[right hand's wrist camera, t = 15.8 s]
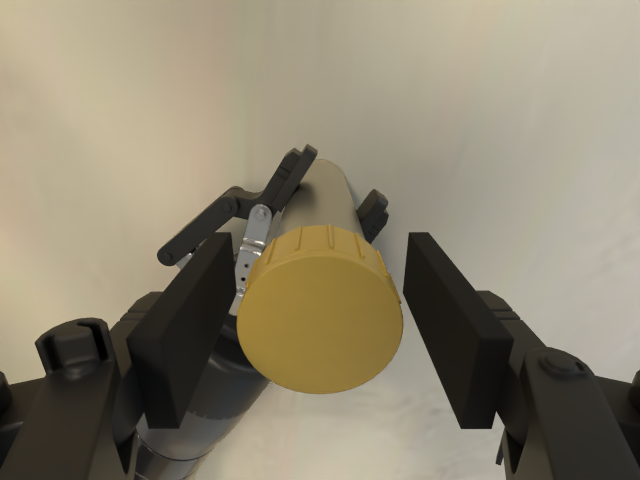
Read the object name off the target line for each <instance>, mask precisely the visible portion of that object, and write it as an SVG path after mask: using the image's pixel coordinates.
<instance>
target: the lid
mask: <svg viewBox="0 0 640 480" xmlns="http://www.w3.org/2000/svg"><path fill="white" fill-rule="evenodd" d="M245 287H246V290H245V293H244V295H243V298H242V300H241V303H240V305H239V308H238V311H237V313H238V315H237V334H238V338H239V342H240V345H241V347H242V350H243V352H244V354H245V355H246V357H247V359H248V360H249V362H250V363H251V364H252V365H253V366H254V368H255V369H257V370H258V371H259V372H260V373H261V374H262V375H263V376H265V377H266V378H268V379H269V380H271V381H272V382H274V383H276V384H278V385H280V386H282V387H285V388H287V389H291V390H294V391H298V392H303V393H311V394H329V393H337V392H342V391H346V390H349V389H352V388H355V387H357V386H360V385H362V384H364V383H366V382H367V381H369V380H371V379H372V378H374V377H375V376H376V375H378V374H379V373H380V372H381V371H382V370H383V369H384V368H385V367H386V366H387V365H388V364H389V362H390V361H391V360H392V358H393V357H394V355H395V353H396V352H397V349H398V347H399V345H400V341H401V338H402V333H403V315H402V311H401V307H400V304H401V300H400V297H399V295H398V292H397V290H396V287H395V285H394V282H393V280H392V277H391V275H390V273H388V272H387V269H386V267H385V264H384V262H383V259H382V257H381V254H380V252H379V250H377V251H376V250H375V249H374V248H373V247H372V246H371V245H370V244H369V243H368V242H367V241H365V240H364V239H363V238H361V237H360V236H359V234H358V233H356V234H354V233H353V232H350V231H348V230H345V229H342V228H338V227H334V226H331V224H328V226H326V225H314V226H306V227H302V226H299V227H298V229H295V230H292V231H290V232H287V233H285V234H284V235H282V236H280V237H278V238H277V239H275V238H274V239H272V242H271V244H270V245H269V246H268V247H267V248H266V249H265V250H264V251H263V253H262V254H261V255H260V257H259V259H258V258H256V259H255V261H254V264H253V266H252V269H251V271H250V274H249V276H248V279H247V281H246V284H245Z"/></svg>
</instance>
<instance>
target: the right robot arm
mask: <svg viewBox="0 0 640 480" xmlns="http://www.w3.org/2000/svg"><path fill="white" fill-rule="evenodd" d="M236 294H237V286H236V277H235V267H234V257H233V247H232V238H231V232H212V233H211V234H210V235H209V236H208V238H207V239H206V240H205V241H204V243H203V244H202V245H201V246H200V247H199V249H198V250H197V251H196V252H195V254H194V255H193V256H192V257H191V259H190V260H189V261H188V262H187V263H186V265H185V266H184V267H183V268H182V270H181V271H180V272H179V273H178V275H177V276H176V277H175V278H174V280H173V281H172V282H171V283H170V284H169V286H168V287H167V288H166V289H165V291H164V292H150V293H149V294H147V295H145V296H144V297H142V298H140V299H139V300H137V301H136V302H135V303H134V304H133V306H132V307H131V308H130V309H129V310H128V313H125V314H124V315H123V317H122V318H121V319H120V321H118V322H117V323H116V324H115V325H114V326H113V328H112V329H111V330H110V331H109V329H108V325H107V323H106V322H105V321H103V320H102V319H98V318H81V319H76V320H72V321H69V322H65V323H63V324H61V325H58V326H56V327H53V328H52V329H50V330H49V331H47V332H45V333H44V334H42V335H41V336H40V337H39V338H38V339H37V341H36V342H35V345H36V348H37V351H38V353H39V356H40V359H41V361H42V364H43V367H44V369H45V372H46V376H45V377H44V378H40V379H35V380H30V381H26V382H21V383H16V384H11V385H9V384H8V382H7V380H6V377H5V375H4V373H2V372H1V371H0V480H134V475H135V466H136V458H137V449H138V436H137V432H136V428H135V427H136V426H137V424H138V422H139V420H140V418H141V417H142V415H143V413H145V417H146V421H147V425H148V429H179V428H180V425H181V423H182V421H183V418H184V416H185V414H186V411H187V409H188V407H189V404H190V402H191V400H192V397H193V395H194V392H195V390H196V388H197V385H198V383H199V381H200V378H201V376H202V374H203V371H204V369H205V367H206V364H207V362H208V360H209V357H210V355H211V353H212V350H213V348H214V346H215V343H216V341H217V339H218V336H219V334H220V332H221V329H222V327H223V325H224V322H225V320H226V318H227V315H228V313H229V311H230V308H231V306H232V304H233V301H234V299H235V297H236ZM403 294H404V297H405V299H406V301H407V304H408V306H409V308H410V311H411V313H412V315H413V318H414V320H415V322H416V325H417V327H418V329H419V332H420V334H421V336H422V339H423V341H424V343H425V346H426V348H427V350H428V353H429V355H430V357H431V360H432V362H433V364H434V367H435V369H436V371H437V374H438V376H439V378H440V381H441V383H442V385H443V388H444V390H445V393H446V395H447V397H448V400H449V402H450V404H451V407H452V409H453V411H454V414H455V416H456V418H457V421H458V423H459V425H460V428H461V429H492V425H493V421H494V417H495V413H496V411H497V413H498V415H499V417H500V418H501V420H502V422H503V424H504V425H505V428H504V432H503V435H502V439H501V443H500V446H499V450H498V454H497V458H496V464H498V465H501V462H502V459H503V457H504V465H505V473H506V480H640V370H639V371H638V372H637V373H636V375H635V377H634V380H633V382H632V383H627V382H622V381H617V380H613V379H608V378H603V377H599V376H595V375H594V373H593V372H592V371H591V369H590V368H589V367H588V366H587V365H586V364H585V363H584V362H582V361H581V360H580V359H578V358H577V357H575V356H573V355H571V354H569V353H567V352H565V351H561V350H558V349H555V348H551V347H546V346H545V344H544V343H543V342H542V341H541V340H540V339H539V338H538V337H537V336H536V335H535V334H534V332H533V331H532V330H531V329H530V328H529V327H528V326H527V325H526V324H525V323H524V322H523V320H520V317H519V316H518V315H517V314H516V313H515V312H514V311H512V308H511V307H510V306H509V305H508V304H507V303H506V302H505V301H504V300H503V299H502V298H500V297H499V296H497V295H495V294H494V293H492V292H490V291H475V289H474V288H473V287H472V286H471V284H470V283H469V282H468V281H467V280H466V278H465V277H464V276H463V275H462V273H461V272H460V271H459V270H458V268H457V267H456V266H455V265H454V263H453V262H452V261H451V260H450V259H449V257H448V256H447V255H446V254H445V252H444V251H443V250H442V249H441V247H440V246H439V245H438V244H437V243H436V241H435V240H434V239H433V238H432V236H431V235H430V234H429V233H428V232H409V237H408V247H407V257H406V267H405V277H404V286H403Z"/></svg>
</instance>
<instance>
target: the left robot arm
mask: <svg viewBox="0 0 640 480" xmlns="http://www.w3.org/2000/svg"><path fill="white" fill-rule="evenodd" d="M317 153H318V151H317V150H316V149H314V148H313V147H311V146H310V145H309V144H307V145H306V146H305V148H304V150H303V151H302V153H301V152H300V151H298V150H297V149H295V148H293V149H292V150H291V151H289V152H288V153H287V154H286V155H285V157H284V159H283V160H282V162H281V163H280V165H279V167H278V168H277V170H276V172H275V173H274V175H273V177H272V178H271V180H270V182H269V183H268V185H267V187H266V188H265V189H264V190H263V191H261V192H259V193H252V192H247V191H244V190H243V189H242V188H241V187H238V186H234V187H231V188H230V189H228V190H227V191H226V192H225V193H224V194H223V195H221V196H220V197H219V198H218V199H217V200H215V201H214V202H213V203H212V204H211V205H210V206H208V207H207V208H206V209H205V210H204V211H203V212H201V213H200V214H199V215H198V216H197V217H196V218H194V219H193V220H192V221H191V222H190V223H189V224H187V225H186V226H185V227H184V228H183V229H181V230H180V231H179V232H178V233H177V234H176V235H175V236H174V237H172V238H171V239H170V240H169V241H168V242H167V243H166V244H165V245H164V246H163V247H162V248H161V249H160V250H159V251H158V253H157V258H158V260H159V261H160V262H161V263H162V264H163V265H166V266H173V265H175V264H176V265H177V266H178V267H179V268H180V269H181V270H182V268H183V267H184V266H185V265H186V263H187V262H188V261H189V260H190V259H191V257H192V256H193V255H194V254H195V252H196V251H197V250H198V249H199V247H200V246H201V245H202V244H203V243H204V241H205V239H207V238H208V236H209V235H210V234H211V233H212V232H215V231H216V230H218V229H219V228H220V227H221V226H222V225H224V224H225V223H226V222H227V221H228V220H230V219H231V218H232V217H238V218H242V219H247V220H248V223H247V227H246V231H245V235H244V238H243V241H242V244H241V247H240V251H239V253H238V254H235V255H233V257H234V267H235V277H236V286H237V294H236V297H235V299H234V301H233V304H232V306H231V308H230V311H229V313H228V315H227V318H226V320H225V322H224V325H223V327H222V329H221V332H220V334H219V336H218V339H217V341H216V343H215V346H214V348H213V350H212V353H211V355H210V357H209V360H208V362H207V364H206V367H205V369H204V371H203V374H202V376H201V378H200V381H199V383H198V385H197V388H196V390H195V392H194V395H193V397H192V400H191V402H190V404H189V407H188V409H187V411H186V414H185V416H184V418H183V421H182V423H181V425H180V428H179V429H148V425H147V421H146V417H145V413H143V415H142V417H141V418H140V420H139V422H138V424H137V426H136V427H135V428H136V432H137V436H138V449H137V458H136V466H135V475H134V480H194V478H195V475H196V472H197V470H198V468H199V467H200V466H201V464H202V463H203V462H204V460H205V459H206V458H207V456H208V455H209V454H210V452H211V451H212V450H213V449H214V447H215V446H216V445H217V444H218V443H219V442H220V441H221V440H222V439H223V438H224V437H225V436H227V435H228V434H229V433H230V432H231V430H232V429H233V428H234V427H235V426H236V425H237V423H238V422H239V421H240V420H241V418H242V417H243V416H244V414H245V413H246V412H247V411H248V409H249V408H250V407H251V406H252V404H253V403H254V402H255V400H256V399H257V398H258V396H259V395H260V394H261V393H262V391H263V390H264V389H265V388H266V386H267V385H268V384H269V382H270V381H271V380H269V379H268V378H266V377H265V376H263V375H262V374H261V373H260V372H259V371H258V370H257V369H255V368H254V366H253V365H252V364H251V363H250V362H249V360H248V359H247V357H246V355H245V354H244V352H243V350H242V347H241V345H240V342H239V338H238V334H237V315H238V313H237V311H238V308H239V305H240V303H241V300H242V298H243V295H244V293H245V290H246V287H245V284H246V281H247V279H248V276H249V274H250V271H251V269H252V266H253V264H254V261H255V259H256V258H258V259H259V257H260V255H261V254H262V253H263V251H264V250H265V246H266V243H267V239H268V235H269V232H270V227H271V224H272V220H273V217H274V215H275V214H276V212H277V210H278V211H279V212H281V211H282V210H283V208H284V207H285V205H286V203H287V201H288V200H289V198H290V197H291V196H292V194H293V192H294V191H295V189H296V188H297V186H298V185H299V183H300V182H301V180H302V178H303V177H304V175H305V174H306V172H307V171H308V169H309V167H310V166H311V164H312V163H313V161H314V160H315V158H316V156H317ZM387 205H388V201H387V199H386V198H385V196H384V195H383V194H381V193H380V192H378V191H377V190H375V189H373V190H372V191H371V192H370V193H369V195H368V196H367V197H366V199H365V200H364V202H363V203H362V204H361V206H360V207H359V208H358V210H357V211H356V213H357V216H358V219H359V222H360V225H361V228H362V231H363V234H364V237H365V241H367V242H368V243H369V244H371V243H372V241H373V240H374V239H375V237H376V236H377V235H378V234H379V232H380V231H381V230H382V229H383V227H384V226H385V225H386V223H387V219H388V216H389V215H388V213H387V211H386V207H387Z"/></svg>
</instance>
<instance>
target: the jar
mask: <svg viewBox="0 0 640 480" xmlns="http://www.w3.org/2000/svg"><path fill="white" fill-rule="evenodd" d="M328 224H331V226H334V227H338V228H342V229H345V230H348V231H350V232H353V233H354V234H356V233H358V234H359V236H360V237H361V238H363V239H364V240H365V237H364V234H363V231H362V228H361V225H360V222H359V219H358V216H357V213H356V210H355V207H354V203H353V200H352V197H351V194H350V191H349V188H348V185H347V182H346V179H345V176H344V174H343V172H342V171H341V169H340V168H339V167H338V166H337V165H335V164H334V163H332V162H330V161H327V160H314V161H313V163H312V164H311V166H310V167H309V169H308V171H307V172H306V174H305V175H304V177H303V178H302V180H301V182H300V183H299V185H298V186H297V188H296V189H295V191H294V192H293V194H292V196H291V197H290V198H289V200H288V201H287V203H286V206H285V209H284V212H283V215H282V218H281V221H280V224H279V227H278V231H277V234H276V237H275V239H277V238H278V237H280V236H282V235H284V234H285V233H287V232H290V231H292V230H295V229H298V227H299V226H302V227H306V226H314V225H326V226H328Z"/></svg>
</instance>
